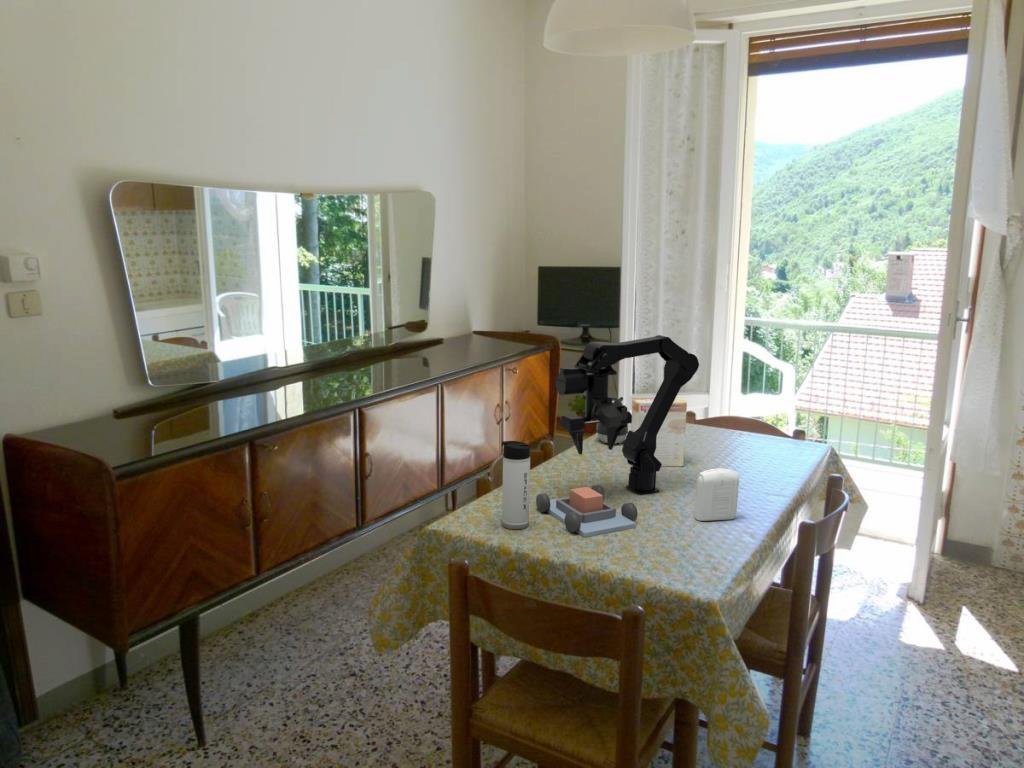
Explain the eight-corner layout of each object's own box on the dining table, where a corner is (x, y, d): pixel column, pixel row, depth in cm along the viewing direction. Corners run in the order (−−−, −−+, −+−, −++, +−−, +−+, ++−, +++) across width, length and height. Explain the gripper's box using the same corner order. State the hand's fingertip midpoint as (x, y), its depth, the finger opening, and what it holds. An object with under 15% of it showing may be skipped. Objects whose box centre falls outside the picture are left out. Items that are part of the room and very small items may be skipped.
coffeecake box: (678, 460, 230) (681, 397, 226) (684, 467, 223) (687, 402, 219) (628, 459, 229) (631, 396, 225) (633, 467, 222) (636, 401, 218)
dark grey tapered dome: (633, 442, 248) (635, 396, 245) (616, 448, 241) (617, 401, 238) (607, 436, 255) (609, 392, 252) (589, 442, 247) (591, 396, 244)
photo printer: (730, 513, 186) (733, 465, 184) (739, 519, 182) (742, 470, 179) (691, 516, 184) (694, 467, 181) (699, 523, 180) (702, 473, 177)
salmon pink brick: (586, 506, 187) (587, 486, 186) (602, 515, 181) (603, 495, 180) (569, 509, 185) (569, 489, 184) (584, 518, 178) (585, 498, 177)
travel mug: (499, 520, 179) (500, 438, 176) (527, 519, 180) (529, 438, 176) (501, 530, 173) (502, 446, 169) (530, 529, 174) (531, 445, 170)
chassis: (591, 496, 196) (591, 480, 195) (641, 526, 177) (642, 508, 176) (532, 506, 189) (532, 489, 188) (578, 538, 169) (579, 519, 169)
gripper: (583, 402, 180) (581, 465, 183) (646, 395, 189) (644, 455, 192) (559, 393, 190) (558, 453, 193) (620, 386, 198) (618, 444, 202)
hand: (595, 451), depth 195 cm, fingers open, 9 cm apart
